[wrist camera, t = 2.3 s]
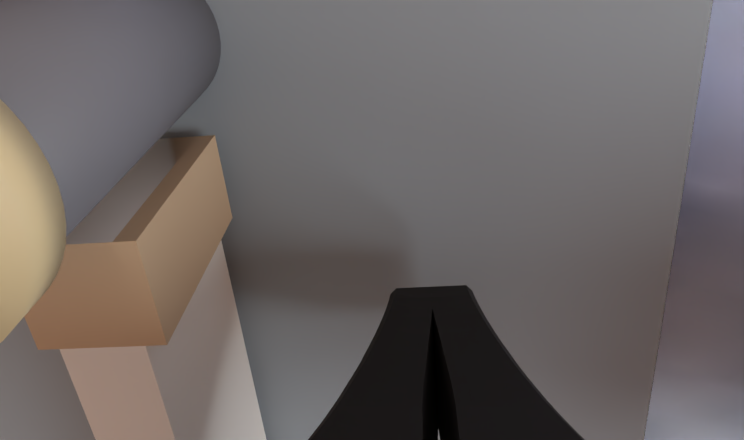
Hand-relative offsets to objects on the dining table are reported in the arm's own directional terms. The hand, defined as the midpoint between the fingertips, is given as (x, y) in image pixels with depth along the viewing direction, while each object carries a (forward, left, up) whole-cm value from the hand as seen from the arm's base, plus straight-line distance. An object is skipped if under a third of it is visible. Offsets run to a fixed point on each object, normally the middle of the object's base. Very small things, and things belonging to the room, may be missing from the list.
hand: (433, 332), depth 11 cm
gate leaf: (+4, +2, -1) cm, 5 cm away
